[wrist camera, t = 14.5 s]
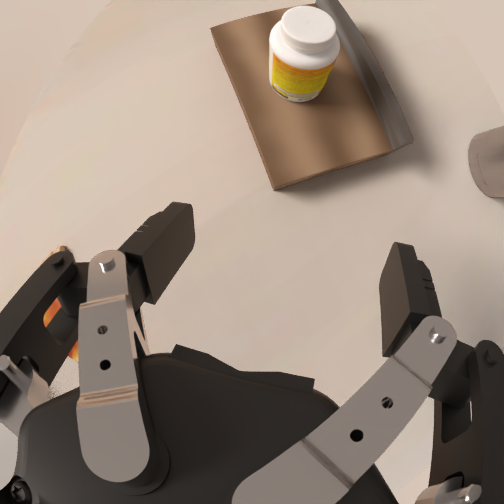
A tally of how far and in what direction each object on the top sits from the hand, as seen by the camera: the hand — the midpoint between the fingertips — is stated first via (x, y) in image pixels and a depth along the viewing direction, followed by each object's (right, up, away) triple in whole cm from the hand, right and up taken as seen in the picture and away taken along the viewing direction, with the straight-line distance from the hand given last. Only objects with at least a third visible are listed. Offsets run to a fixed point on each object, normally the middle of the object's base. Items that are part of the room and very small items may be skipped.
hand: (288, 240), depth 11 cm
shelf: (+4, +18, +18) cm, 26 cm away
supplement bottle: (+3, +17, +14) cm, 22 cm away
